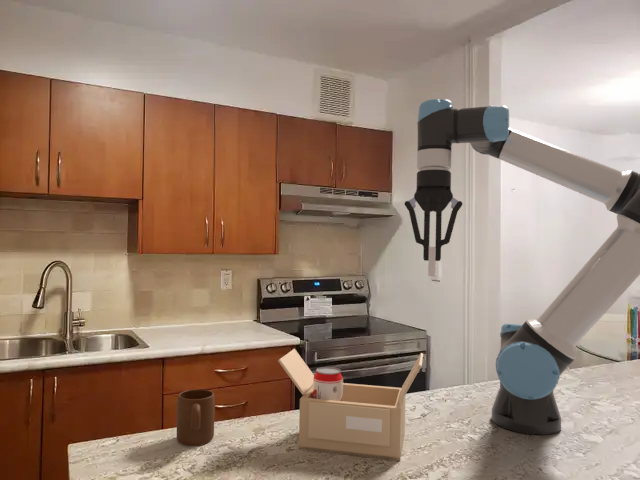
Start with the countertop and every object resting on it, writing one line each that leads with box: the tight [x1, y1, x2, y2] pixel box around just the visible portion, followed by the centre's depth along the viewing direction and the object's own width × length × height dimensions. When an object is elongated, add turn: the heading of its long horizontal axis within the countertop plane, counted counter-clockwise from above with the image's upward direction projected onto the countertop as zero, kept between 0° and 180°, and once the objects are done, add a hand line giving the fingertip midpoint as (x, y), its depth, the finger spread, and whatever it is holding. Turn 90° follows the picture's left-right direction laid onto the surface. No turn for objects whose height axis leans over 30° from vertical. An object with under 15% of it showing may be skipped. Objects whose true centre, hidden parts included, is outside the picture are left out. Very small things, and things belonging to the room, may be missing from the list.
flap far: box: [277, 348, 315, 396], centre depth 110 cm, size 8×11×1 cm
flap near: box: [398, 352, 424, 403], centre depth 105 cm, size 8×11×1 cm
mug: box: [176, 388, 216, 447], centre depth 105 cm, size 12×8×9 cm, turn 13°
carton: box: [298, 382, 406, 462], centre depth 107 cm, size 20×15×10 cm
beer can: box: [313, 366, 344, 401], centre depth 107 cm, size 6×6×16 cm
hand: (431, 275), depth 116 cm, fingers closed
